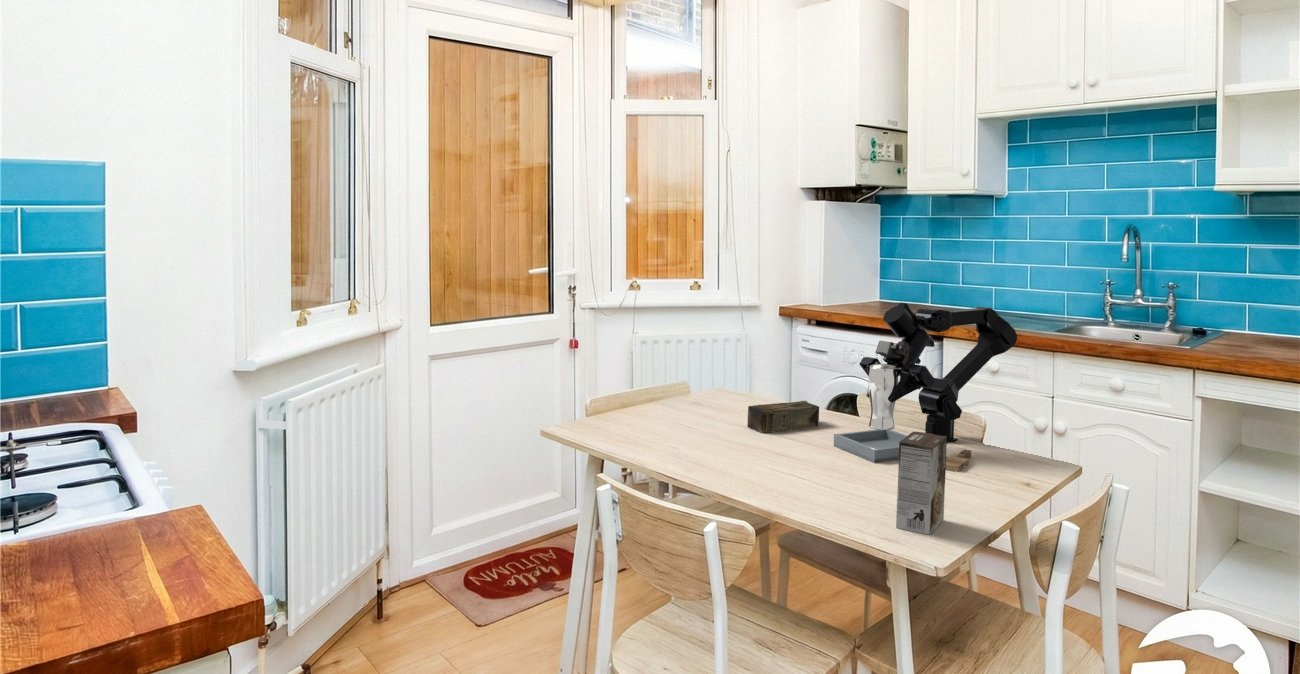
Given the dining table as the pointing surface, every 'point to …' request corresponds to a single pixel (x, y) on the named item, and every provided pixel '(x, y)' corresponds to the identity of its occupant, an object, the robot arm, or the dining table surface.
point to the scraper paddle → (958, 461)
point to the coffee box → (921, 482)
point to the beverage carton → (782, 416)
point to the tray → (871, 444)
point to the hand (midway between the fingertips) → (879, 399)
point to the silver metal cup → (882, 395)
